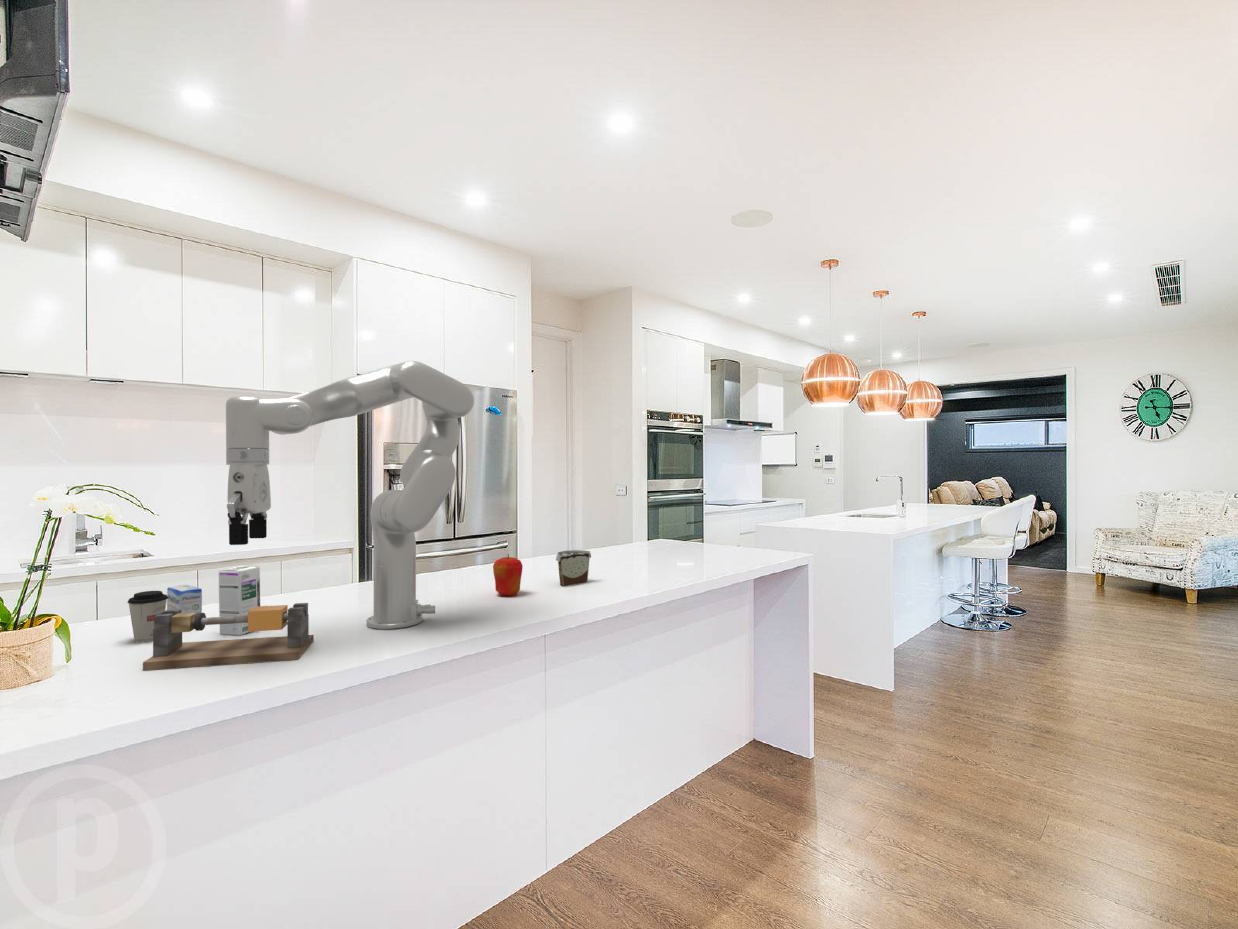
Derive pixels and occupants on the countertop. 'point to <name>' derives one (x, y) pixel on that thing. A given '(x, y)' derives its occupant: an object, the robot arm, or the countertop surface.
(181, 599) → the medicine box
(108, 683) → the countertop surface
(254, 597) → the syrup box
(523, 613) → the countertop surface
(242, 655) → the rail
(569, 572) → the food container
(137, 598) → the black-capped travel mug
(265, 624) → the sleeve
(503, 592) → the apple
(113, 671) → the countertop surface
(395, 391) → the robot arm
